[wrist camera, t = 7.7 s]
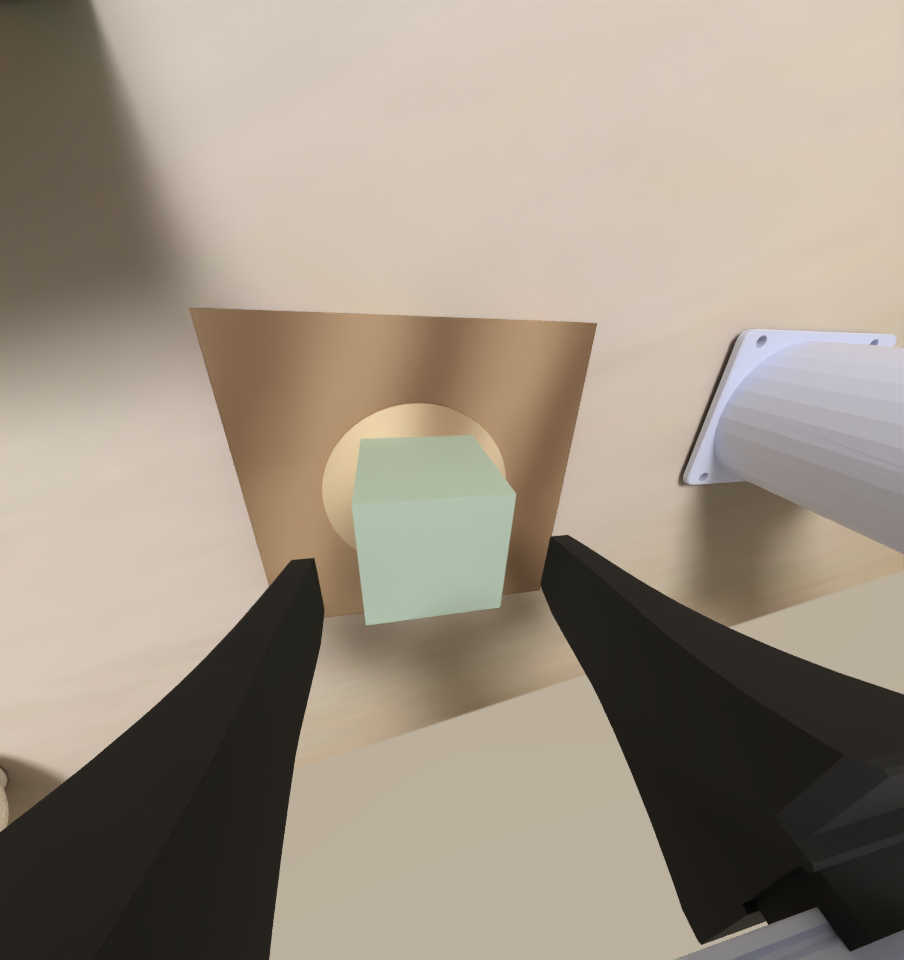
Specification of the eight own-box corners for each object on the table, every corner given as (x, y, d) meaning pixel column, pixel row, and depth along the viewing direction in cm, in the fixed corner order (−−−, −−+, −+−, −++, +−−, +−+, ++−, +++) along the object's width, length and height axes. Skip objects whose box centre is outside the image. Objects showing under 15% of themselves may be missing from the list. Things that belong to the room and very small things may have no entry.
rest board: (580, 322, 14) (599, 323, 13) (531, 575, 20) (541, 592, 19) (206, 308, 11) (185, 307, 10) (285, 604, 18) (278, 626, 16)
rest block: (472, 434, 14) (516, 494, 9) (466, 524, 16) (500, 607, 11) (360, 438, 13) (351, 504, 8) (369, 532, 15) (365, 625, 11)
